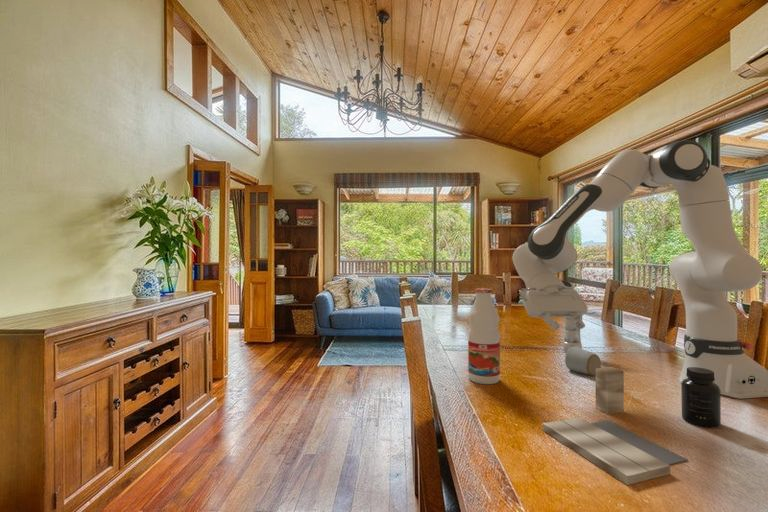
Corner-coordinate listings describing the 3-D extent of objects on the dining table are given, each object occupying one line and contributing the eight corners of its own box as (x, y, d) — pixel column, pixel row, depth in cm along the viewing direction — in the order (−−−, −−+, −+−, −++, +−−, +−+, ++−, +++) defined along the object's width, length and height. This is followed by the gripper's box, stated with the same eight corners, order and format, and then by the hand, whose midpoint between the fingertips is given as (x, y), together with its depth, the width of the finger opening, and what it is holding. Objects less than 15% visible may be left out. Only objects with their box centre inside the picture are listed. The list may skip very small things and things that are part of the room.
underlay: (584, 425, 83) (583, 424, 83) (607, 420, 85) (607, 420, 85) (660, 467, 66) (660, 466, 66) (688, 460, 69) (688, 459, 69)
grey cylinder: (588, 378, 113) (588, 353, 113) (564, 371, 120) (564, 347, 120) (608, 373, 118) (608, 349, 118) (583, 366, 126) (583, 344, 126)
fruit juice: (501, 376, 115) (501, 287, 115) (497, 386, 107) (497, 290, 106) (471, 372, 119) (471, 286, 119) (465, 382, 110) (465, 289, 110)
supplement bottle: (681, 412, 89) (681, 363, 89) (719, 421, 84) (719, 369, 84) (681, 423, 83) (681, 370, 83) (721, 432, 79) (722, 377, 79)
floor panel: (542, 430, 81) (542, 423, 81) (578, 423, 84) (578, 416, 84) (627, 485, 61) (627, 475, 61) (670, 474, 64) (670, 465, 64)
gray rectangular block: (595, 408, 92) (595, 368, 91) (610, 405, 93) (610, 366, 93) (607, 414, 88) (607, 373, 88) (623, 411, 90) (623, 370, 90)
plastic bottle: (558, 352, 142) (558, 301, 142) (572, 351, 144) (572, 300, 144) (571, 357, 136) (571, 303, 136) (586, 355, 138) (586, 302, 138)
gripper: (523, 281, 105) (547, 322, 96) (576, 283, 113) (603, 321, 104) (511, 294, 110) (533, 335, 101) (563, 295, 117) (588, 333, 108)
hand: (569, 328), depth 102 cm, fingers open, 8 cm apart
